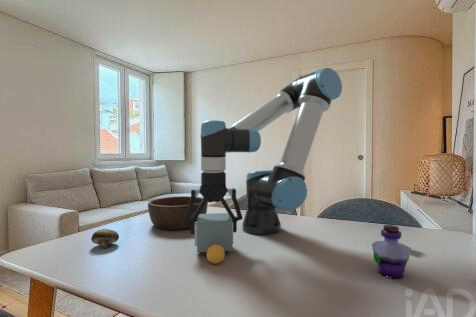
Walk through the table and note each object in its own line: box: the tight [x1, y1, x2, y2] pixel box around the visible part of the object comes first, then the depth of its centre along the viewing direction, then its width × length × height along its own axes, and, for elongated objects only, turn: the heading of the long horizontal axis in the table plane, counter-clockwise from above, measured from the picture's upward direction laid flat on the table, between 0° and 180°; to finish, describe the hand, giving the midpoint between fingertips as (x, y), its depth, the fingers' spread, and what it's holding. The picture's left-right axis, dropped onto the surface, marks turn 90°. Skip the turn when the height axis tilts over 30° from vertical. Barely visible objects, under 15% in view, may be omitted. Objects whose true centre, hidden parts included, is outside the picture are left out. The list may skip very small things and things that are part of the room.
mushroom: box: [90, 228, 120, 249], centre depth 88 cm, size 8×8×6 cm
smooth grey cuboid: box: [196, 212, 233, 253], centre depth 83 cm, size 10×10×9 cm
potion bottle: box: [371, 224, 412, 280], centre depth 66 cm, size 9×9×12 cm
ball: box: [206, 244, 226, 265], centre depth 73 cm, size 5×5×5 cm
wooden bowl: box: [147, 195, 209, 231], centre depth 115 cm, size 25×25×10 cm
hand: (213, 243), depth 83 cm, fingers closed on smooth grey cuboid, 10 cm apart
